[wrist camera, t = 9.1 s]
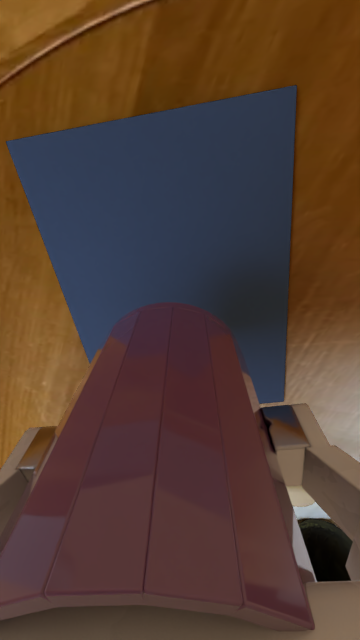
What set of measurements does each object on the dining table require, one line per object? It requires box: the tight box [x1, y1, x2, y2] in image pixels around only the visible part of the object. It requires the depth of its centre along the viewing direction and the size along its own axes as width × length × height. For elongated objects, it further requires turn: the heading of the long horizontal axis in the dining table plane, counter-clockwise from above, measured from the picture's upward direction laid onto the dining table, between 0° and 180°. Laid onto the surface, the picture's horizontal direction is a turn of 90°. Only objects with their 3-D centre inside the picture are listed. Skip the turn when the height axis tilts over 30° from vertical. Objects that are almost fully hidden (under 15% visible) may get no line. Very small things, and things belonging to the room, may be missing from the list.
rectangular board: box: [6, 85, 297, 404], centre depth 20 cm, size 22×16×1 cm
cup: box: [0, 302, 317, 632], centre depth 9 cm, size 7×7×9 cm
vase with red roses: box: [299, 519, 353, 582], centre depth 36 cm, size 16×18×35 cm
